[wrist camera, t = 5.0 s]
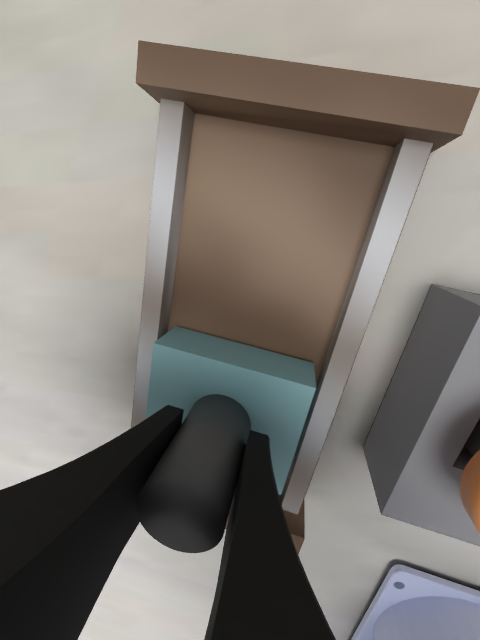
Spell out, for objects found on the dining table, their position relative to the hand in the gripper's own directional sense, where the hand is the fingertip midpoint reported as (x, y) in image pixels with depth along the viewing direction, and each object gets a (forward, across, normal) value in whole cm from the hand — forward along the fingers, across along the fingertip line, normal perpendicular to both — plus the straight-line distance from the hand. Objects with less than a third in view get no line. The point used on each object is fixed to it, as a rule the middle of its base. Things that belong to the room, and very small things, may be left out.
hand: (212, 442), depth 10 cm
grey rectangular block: (+4, -9, -3) cm, 10 cm away
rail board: (+4, 0, -3) cm, 5 cm away
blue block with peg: (+3, 0, 0) cm, 3 cm away
